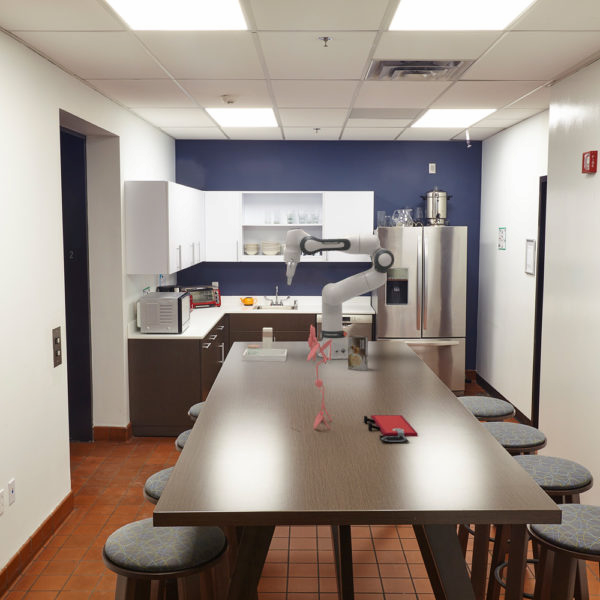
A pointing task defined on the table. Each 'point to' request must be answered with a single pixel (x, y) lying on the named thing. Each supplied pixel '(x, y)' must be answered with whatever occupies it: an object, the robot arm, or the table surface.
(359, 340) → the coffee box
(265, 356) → the tray
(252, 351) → the lidded jar
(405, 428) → the red board with handle
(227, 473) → the table surface
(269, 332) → the juice carton
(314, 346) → the figurine
